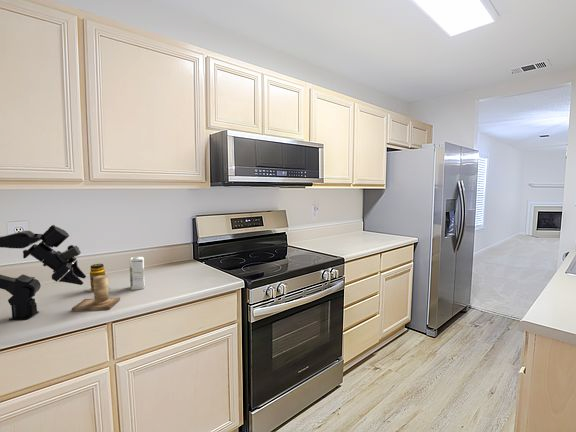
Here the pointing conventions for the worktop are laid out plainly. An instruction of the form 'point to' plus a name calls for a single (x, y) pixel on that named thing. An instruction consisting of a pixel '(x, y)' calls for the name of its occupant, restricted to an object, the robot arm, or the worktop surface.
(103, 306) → the walnut board
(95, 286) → the wooden chess pawn
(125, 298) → the worktop surface
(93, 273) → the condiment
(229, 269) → the worktop surface
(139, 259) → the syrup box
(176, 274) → the worktop surface
